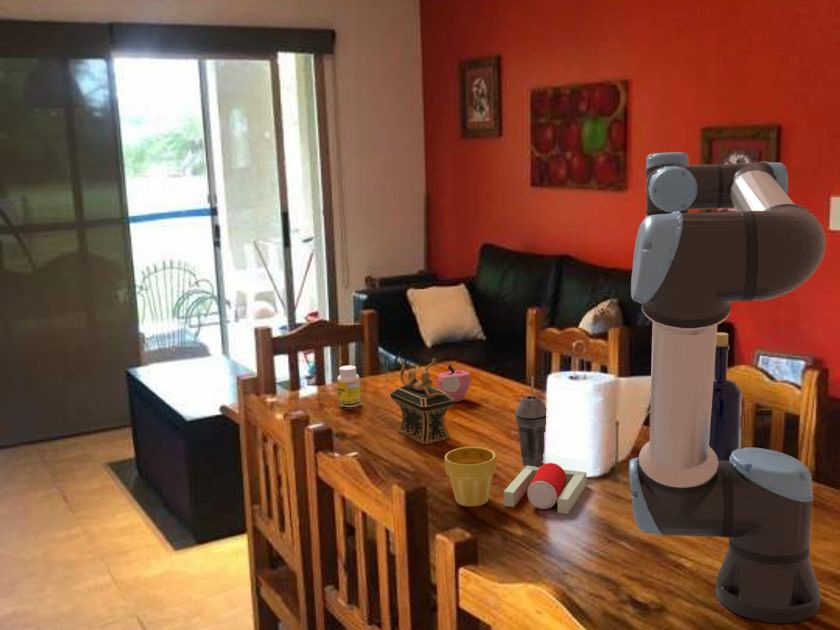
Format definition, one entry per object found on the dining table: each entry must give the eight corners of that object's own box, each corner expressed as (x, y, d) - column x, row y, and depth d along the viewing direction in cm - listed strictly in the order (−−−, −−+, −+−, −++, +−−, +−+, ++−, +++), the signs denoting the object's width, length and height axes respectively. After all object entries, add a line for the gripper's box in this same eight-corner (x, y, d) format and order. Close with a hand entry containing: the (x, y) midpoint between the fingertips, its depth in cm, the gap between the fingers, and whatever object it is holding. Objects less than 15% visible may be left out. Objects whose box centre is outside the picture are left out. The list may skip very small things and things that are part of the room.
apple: (434, 404, 249) (432, 369, 247) (442, 395, 257) (441, 362, 255) (468, 406, 246) (466, 370, 244) (475, 397, 254) (474, 362, 252)
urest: (567, 514, 174) (567, 499, 174) (504, 505, 180) (503, 491, 179) (586, 485, 188) (586, 472, 187) (526, 478, 193) (526, 465, 192)
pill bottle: (335, 404, 254) (333, 366, 251) (356, 401, 256) (353, 363, 254) (343, 410, 248) (340, 371, 246) (364, 406, 251) (361, 368, 248)
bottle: (744, 478, 187) (747, 338, 181) (698, 477, 189) (700, 338, 183) (738, 462, 196) (741, 329, 190) (694, 461, 198) (696, 329, 192)
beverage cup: (511, 467, 200) (509, 380, 196) (523, 456, 206) (521, 372, 202) (542, 471, 197) (540, 383, 193) (553, 460, 203) (551, 374, 199)
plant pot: (455, 514, 177) (453, 467, 175) (440, 495, 187) (438, 450, 185) (504, 506, 179) (503, 460, 178) (487, 487, 189) (485, 443, 187)
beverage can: (520, 500, 177) (532, 477, 188) (547, 517, 176) (558, 493, 187) (535, 475, 175) (547, 454, 186) (563, 493, 174) (573, 470, 185)
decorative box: (458, 439, 220) (455, 361, 216) (425, 448, 215) (421, 368, 211) (416, 419, 237) (413, 347, 233) (384, 427, 232) (380, 353, 228)
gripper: (683, 242, 157) (681, 372, 162) (692, 233, 169) (691, 355, 174) (639, 242, 160) (639, 369, 165) (651, 233, 172) (651, 353, 177)
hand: (666, 362), depth 169 cm, fingers closed
